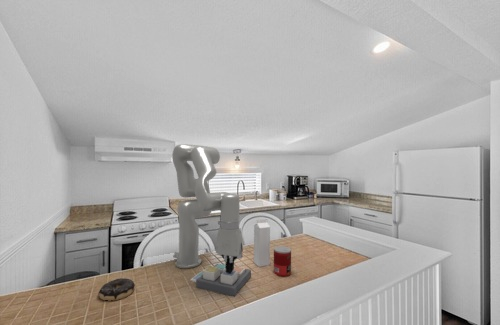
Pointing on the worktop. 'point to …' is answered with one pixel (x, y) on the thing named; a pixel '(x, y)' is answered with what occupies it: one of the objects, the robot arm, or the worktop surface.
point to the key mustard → (211, 273)
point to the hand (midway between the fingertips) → (229, 271)
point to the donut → (116, 289)
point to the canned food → (282, 261)
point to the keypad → (221, 287)
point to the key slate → (229, 277)
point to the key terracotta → (239, 271)
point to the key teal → (221, 267)
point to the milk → (262, 243)
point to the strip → (197, 276)
